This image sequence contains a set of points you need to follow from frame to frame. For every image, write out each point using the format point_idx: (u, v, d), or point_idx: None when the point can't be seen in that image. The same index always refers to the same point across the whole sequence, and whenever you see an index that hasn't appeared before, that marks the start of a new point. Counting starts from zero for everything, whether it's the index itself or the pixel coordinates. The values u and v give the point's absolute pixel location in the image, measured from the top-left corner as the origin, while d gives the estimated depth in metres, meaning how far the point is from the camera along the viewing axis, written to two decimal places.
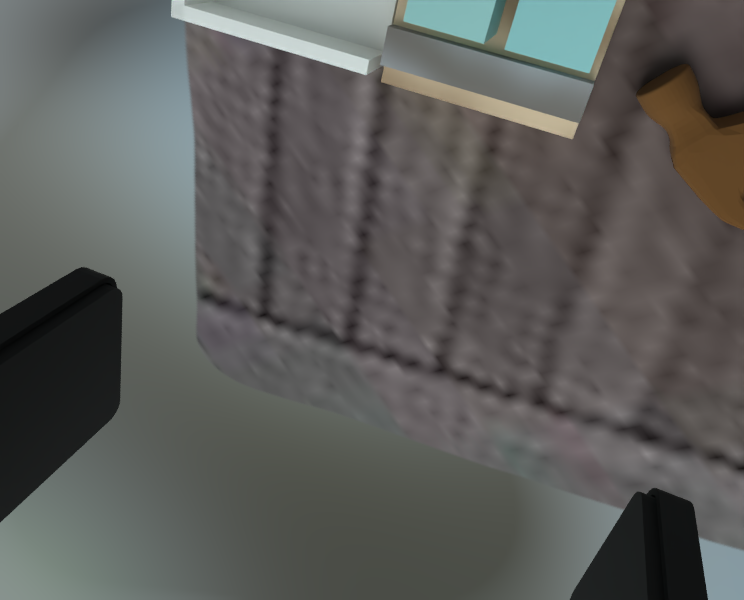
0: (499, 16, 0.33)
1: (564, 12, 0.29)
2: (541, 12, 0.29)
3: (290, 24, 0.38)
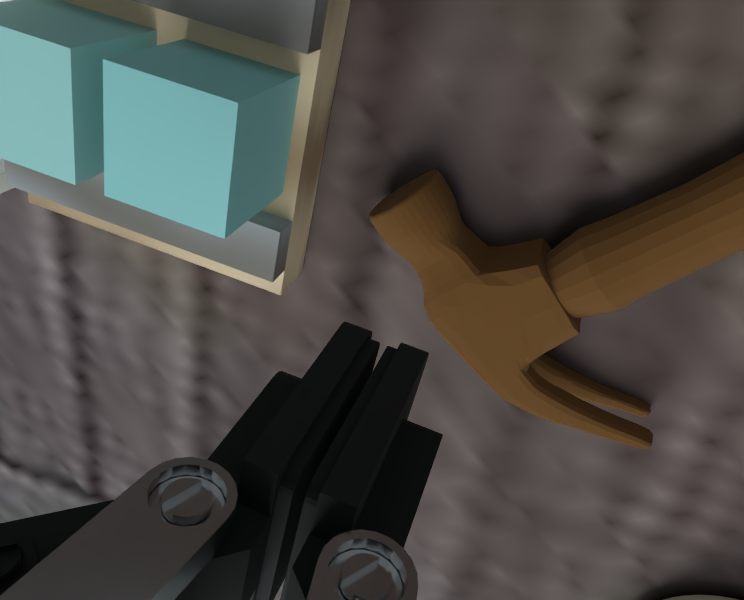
0: None
1: (169, 149, 0.18)
2: (138, 145, 0.18)
3: None
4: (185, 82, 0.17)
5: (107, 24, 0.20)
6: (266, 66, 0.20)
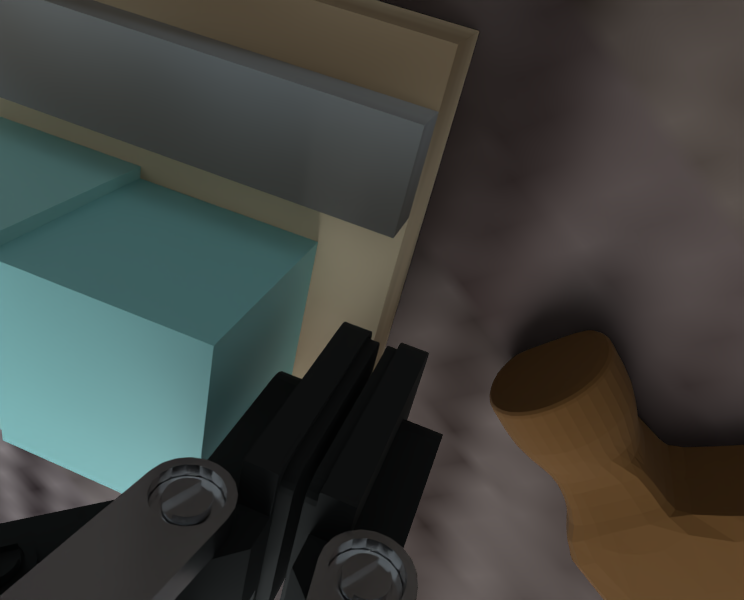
0: None
1: (99, 394, 0.11)
2: (49, 383, 0.11)
3: None
4: (122, 301, 0.10)
5: (60, 163, 0.13)
6: (264, 229, 0.13)
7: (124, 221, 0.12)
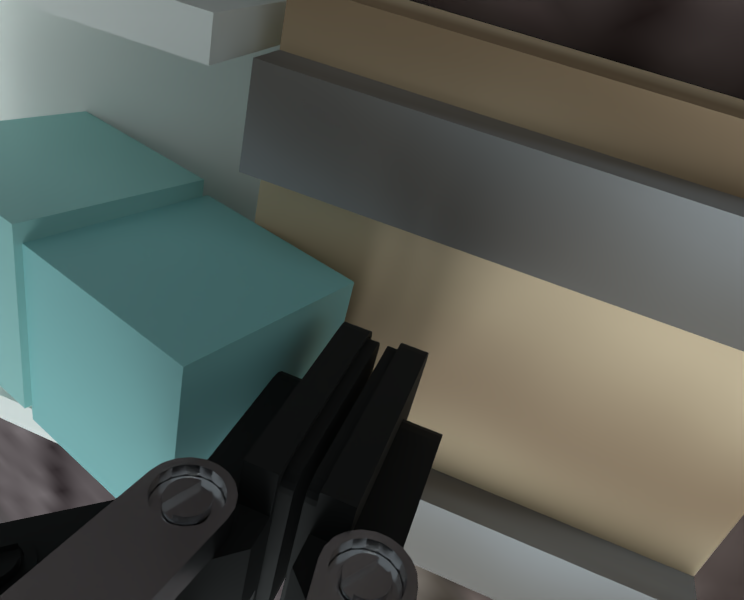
0: None
1: (99, 394, 0.11)
2: (64, 373, 0.11)
3: None
4: (121, 306, 0.10)
5: (129, 167, 0.13)
6: (303, 260, 0.12)
7: (168, 232, 0.12)
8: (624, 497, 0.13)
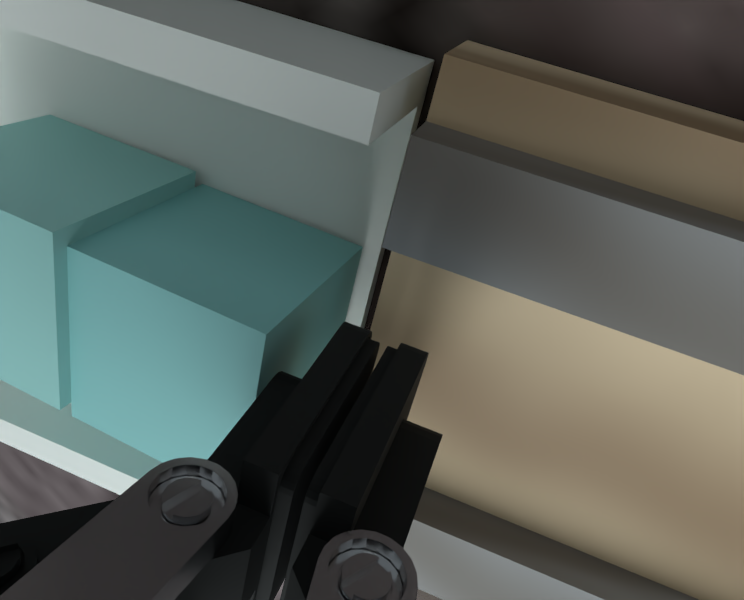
0: None
1: (161, 376, 0.12)
2: (117, 364, 0.12)
3: None
4: (186, 291, 0.11)
5: (123, 166, 0.14)
6: (313, 233, 0.14)
7: (188, 222, 0.13)
8: None
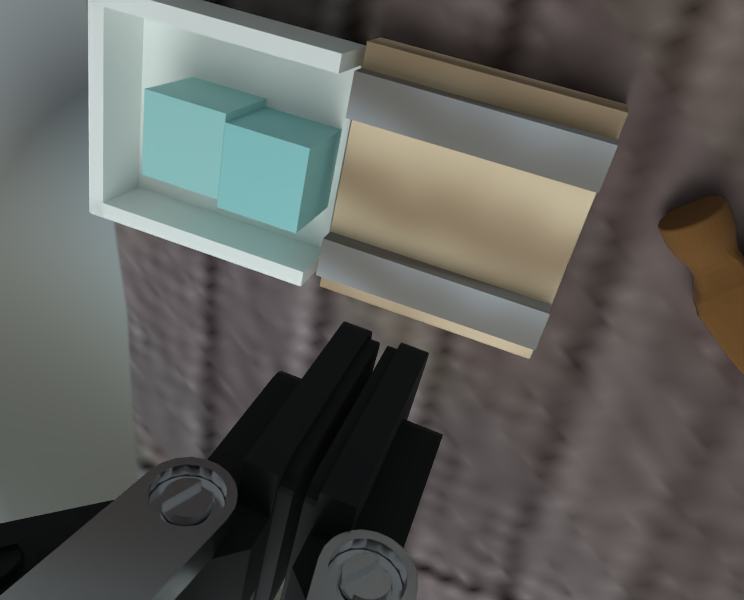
0: None
1: (263, 176, 0.29)
2: (243, 175, 0.29)
3: (222, 215, 0.35)
4: (276, 136, 0.28)
5: (236, 95, 0.31)
6: (319, 124, 0.31)
7: (266, 118, 0.30)
8: (516, 265, 0.30)
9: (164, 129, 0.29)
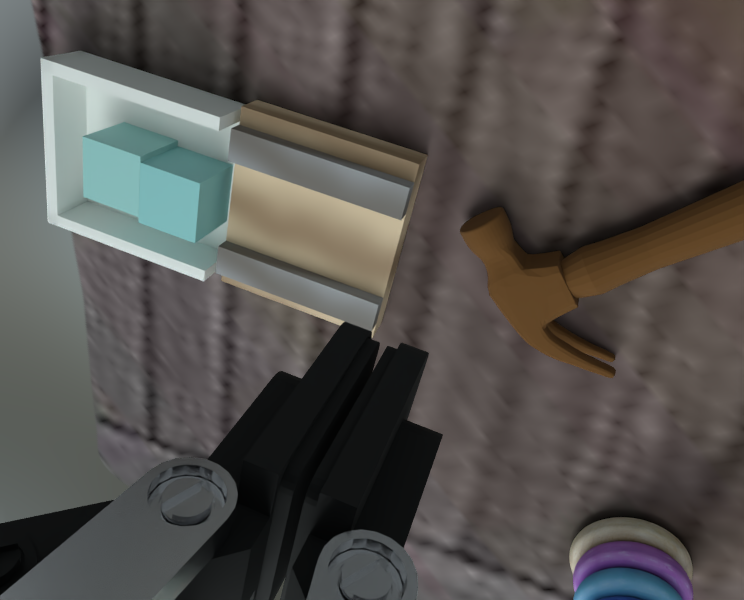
0: None
1: (169, 202, 0.39)
2: (155, 200, 0.40)
3: None
4: (176, 173, 0.39)
5: (154, 139, 0.41)
6: (216, 160, 0.42)
7: (174, 157, 0.41)
8: (356, 268, 0.40)
9: (98, 165, 0.40)
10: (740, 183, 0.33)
